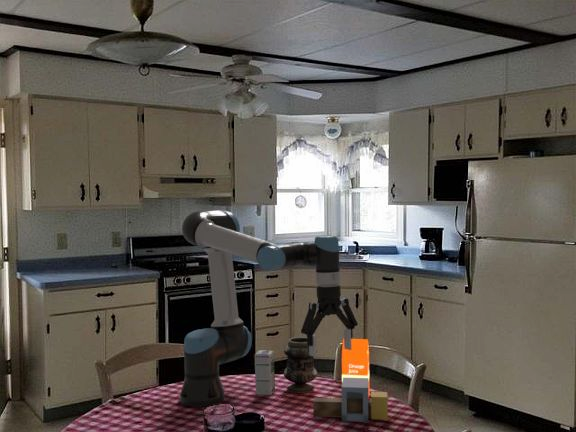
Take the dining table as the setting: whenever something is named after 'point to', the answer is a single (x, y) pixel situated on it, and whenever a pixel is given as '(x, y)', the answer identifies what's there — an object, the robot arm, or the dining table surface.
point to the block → (379, 405)
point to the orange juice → (356, 360)
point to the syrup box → (264, 372)
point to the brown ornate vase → (299, 365)
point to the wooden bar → (338, 407)
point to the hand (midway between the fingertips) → (330, 352)
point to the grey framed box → (355, 390)
